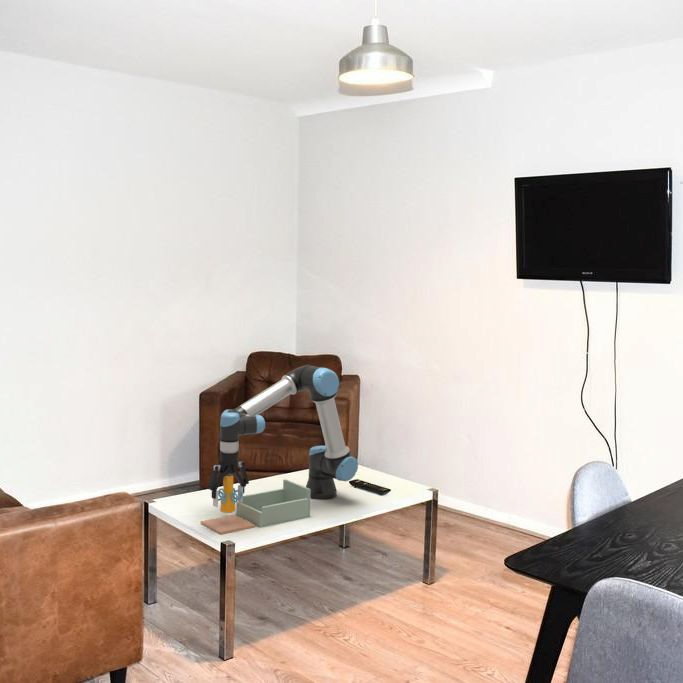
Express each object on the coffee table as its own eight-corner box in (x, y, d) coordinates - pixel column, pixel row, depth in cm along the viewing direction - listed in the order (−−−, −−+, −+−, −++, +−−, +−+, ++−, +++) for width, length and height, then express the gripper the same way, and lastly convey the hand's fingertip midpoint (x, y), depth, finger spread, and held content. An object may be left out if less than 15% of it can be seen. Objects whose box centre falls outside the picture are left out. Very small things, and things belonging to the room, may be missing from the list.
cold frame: (284, 505, 364) (285, 479, 363) (309, 516, 350) (310, 489, 349) (236, 515, 348) (236, 488, 347) (260, 527, 334) (260, 498, 333)
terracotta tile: (234, 517, 346) (234, 514, 346) (254, 527, 334) (254, 524, 334) (200, 523, 336) (200, 521, 336) (220, 534, 324) (220, 532, 324)
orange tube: (214, 515, 328) (214, 479, 326) (211, 507, 338) (212, 472, 336) (244, 514, 331) (245, 477, 329) (240, 506, 341) (241, 471, 339)
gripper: (248, 445, 342) (247, 497, 344) (199, 452, 327) (198, 506, 329) (258, 449, 336) (257, 501, 338) (208, 456, 321) (207, 510, 324)
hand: (227, 503), depth 334 cm, fingers closed on orange tube, 11 cm apart
